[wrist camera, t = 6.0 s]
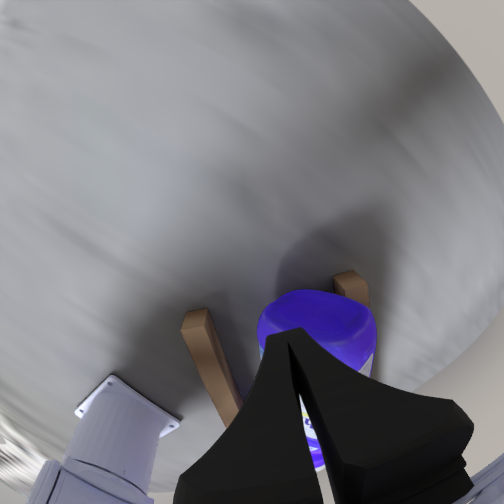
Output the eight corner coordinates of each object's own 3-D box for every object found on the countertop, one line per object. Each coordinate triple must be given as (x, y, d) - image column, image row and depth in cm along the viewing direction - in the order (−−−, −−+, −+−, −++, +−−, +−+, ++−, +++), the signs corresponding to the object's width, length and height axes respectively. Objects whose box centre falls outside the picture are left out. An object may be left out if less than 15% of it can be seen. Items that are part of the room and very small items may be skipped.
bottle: (352, 361, 11) (322, 493, 17) (394, 302, 15) (356, 451, 21) (236, 313, 16) (260, 457, 22) (294, 275, 20) (297, 422, 26)
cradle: (186, 312, 20) (180, 330, 17) (353, 270, 20) (367, 283, 17) (251, 456, 25) (252, 474, 23) (360, 428, 25) (367, 444, 22)
